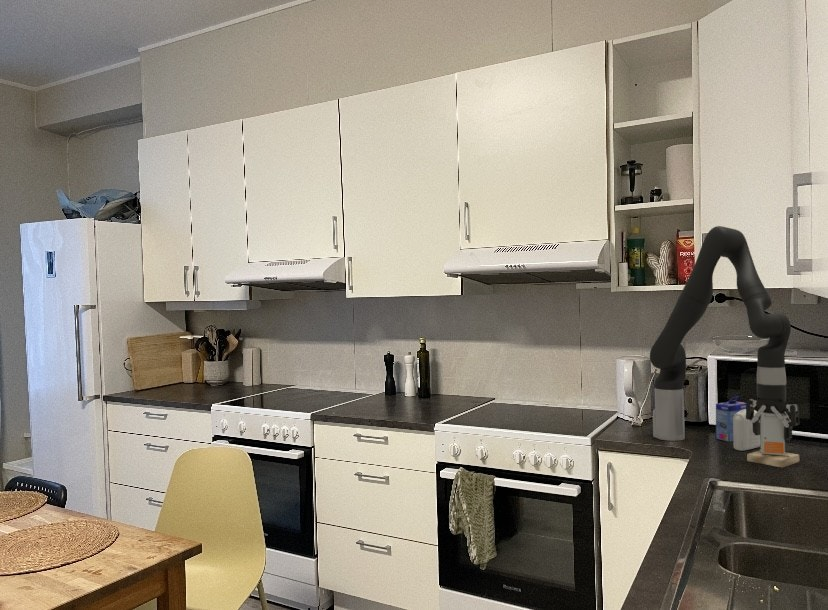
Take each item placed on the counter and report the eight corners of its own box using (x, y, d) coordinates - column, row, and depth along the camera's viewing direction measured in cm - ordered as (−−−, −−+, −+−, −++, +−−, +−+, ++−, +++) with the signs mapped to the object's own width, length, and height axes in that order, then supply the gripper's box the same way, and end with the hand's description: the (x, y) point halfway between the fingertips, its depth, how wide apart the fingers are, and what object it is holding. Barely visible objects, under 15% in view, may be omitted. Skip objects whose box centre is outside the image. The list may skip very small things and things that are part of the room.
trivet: (747, 460, 193) (747, 453, 193) (764, 455, 199) (764, 447, 199) (782, 467, 185) (782, 459, 185) (799, 461, 191) (799, 453, 191)
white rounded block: (749, 444, 213) (748, 406, 213) (762, 447, 209) (761, 408, 209) (731, 449, 207) (730, 410, 207) (744, 452, 204) (743, 412, 203)
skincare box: (762, 454, 191) (761, 413, 191) (760, 451, 195) (759, 410, 195) (785, 455, 189) (785, 414, 188) (783, 452, 193) (782, 411, 192)
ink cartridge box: (729, 442, 217) (728, 398, 216) (715, 439, 222) (714, 396, 221) (748, 438, 222) (747, 395, 221) (733, 435, 226) (732, 393, 226)
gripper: (740, 381, 195) (741, 435, 195) (790, 385, 183) (791, 443, 184) (753, 378, 199) (754, 431, 200) (803, 383, 188) (804, 439, 188)
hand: (772, 437), depth 192 cm, fingers open, 8 cm apart
